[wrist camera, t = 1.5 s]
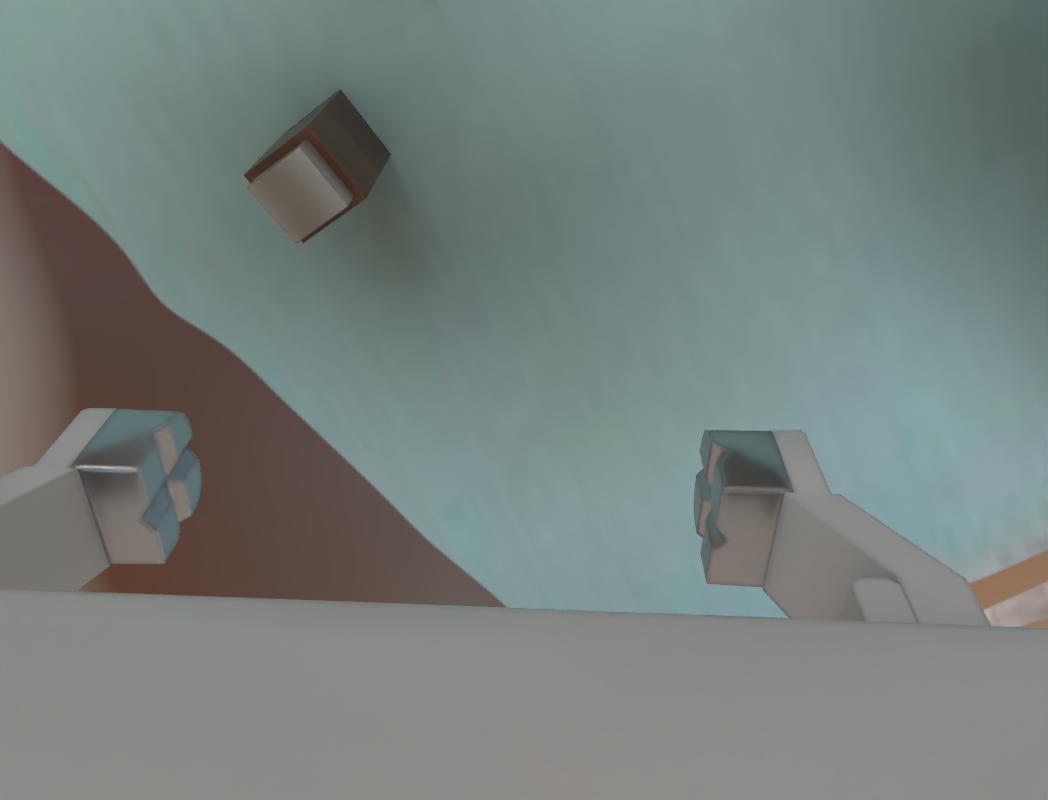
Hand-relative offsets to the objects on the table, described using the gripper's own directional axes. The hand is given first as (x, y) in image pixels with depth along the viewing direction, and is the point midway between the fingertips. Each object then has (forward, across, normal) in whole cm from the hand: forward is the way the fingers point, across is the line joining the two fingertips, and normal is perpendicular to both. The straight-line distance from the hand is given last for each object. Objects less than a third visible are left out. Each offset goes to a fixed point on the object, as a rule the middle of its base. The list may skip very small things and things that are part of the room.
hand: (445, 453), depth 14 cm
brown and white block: (+34, +10, +5) cm, 36 cm away
